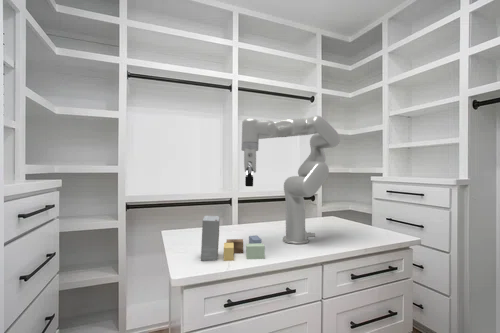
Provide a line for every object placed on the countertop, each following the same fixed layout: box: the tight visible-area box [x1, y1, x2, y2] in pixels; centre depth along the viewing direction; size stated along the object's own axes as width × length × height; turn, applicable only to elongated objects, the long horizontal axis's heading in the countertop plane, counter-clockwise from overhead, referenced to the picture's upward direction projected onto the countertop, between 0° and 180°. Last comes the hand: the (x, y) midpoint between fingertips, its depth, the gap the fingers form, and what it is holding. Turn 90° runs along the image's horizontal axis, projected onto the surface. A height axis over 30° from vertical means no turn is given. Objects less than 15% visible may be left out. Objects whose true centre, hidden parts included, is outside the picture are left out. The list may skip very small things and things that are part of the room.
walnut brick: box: [225, 238, 244, 255], centre depth 107 cm, size 7×4×5 cm, turn 94°
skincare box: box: [200, 215, 221, 262], centre depth 100 cm, size 8×7×16 cm
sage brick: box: [245, 243, 266, 260], centre depth 100 cm, size 7×4×5 cm, turn 94°
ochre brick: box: [223, 242, 235, 262], centre depth 100 cm, size 7×4×5 cm, turn 4°
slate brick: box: [248, 234, 263, 244], centre depth 111 cm, size 7×4×5 cm, turn 14°
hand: (248, 185), depth 111 cm, fingers open, 9 cm apart
